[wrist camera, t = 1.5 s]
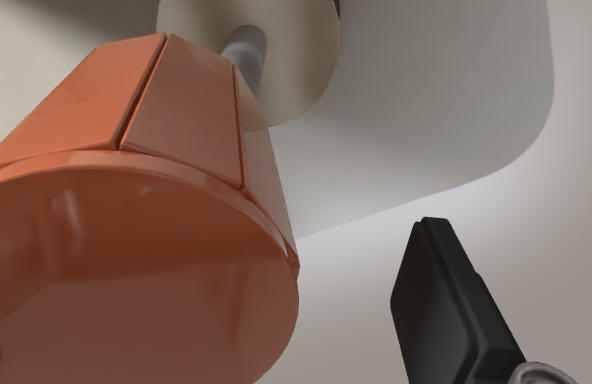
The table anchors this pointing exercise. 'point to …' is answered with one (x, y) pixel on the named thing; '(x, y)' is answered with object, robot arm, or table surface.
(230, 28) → the towel holder
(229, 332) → the orange brown faceted cylinder
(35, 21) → the table surface
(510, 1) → the table surface
